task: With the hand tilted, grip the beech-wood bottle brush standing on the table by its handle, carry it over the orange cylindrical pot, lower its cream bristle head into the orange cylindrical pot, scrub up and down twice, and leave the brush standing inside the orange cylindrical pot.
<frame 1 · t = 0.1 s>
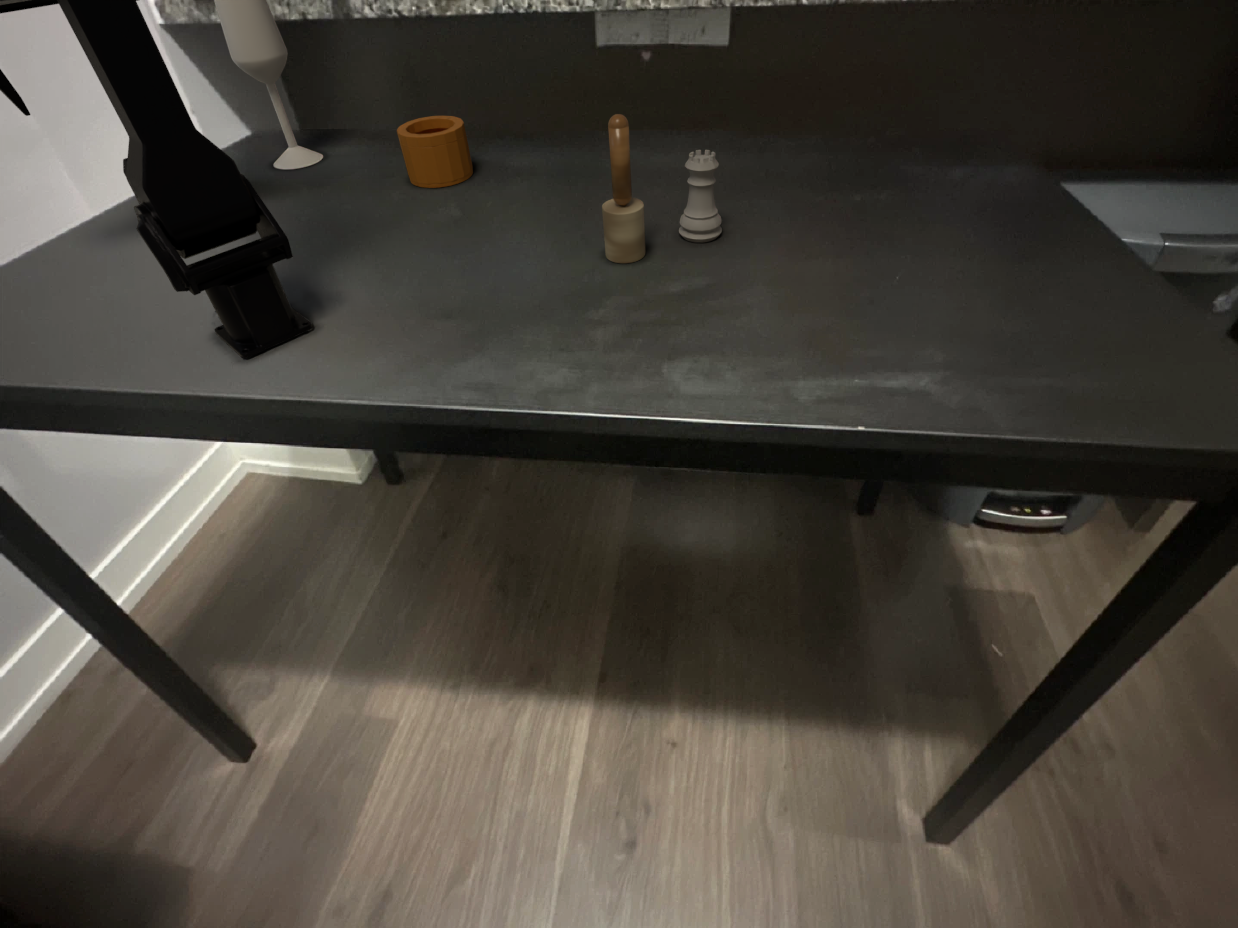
hand: (80, 102, 67), 15 cm above the table, tool pointing down, fingers open, 9 cm apart
rook chess piece: (700, 236, 71), on the table
orange cylindrical pot: (441, 175, 87), on the table
brush: (625, 254, 68), on the table
sauce bottle: (192, 198, 87), on the table
champagne flute: (298, 161, 95), on the table
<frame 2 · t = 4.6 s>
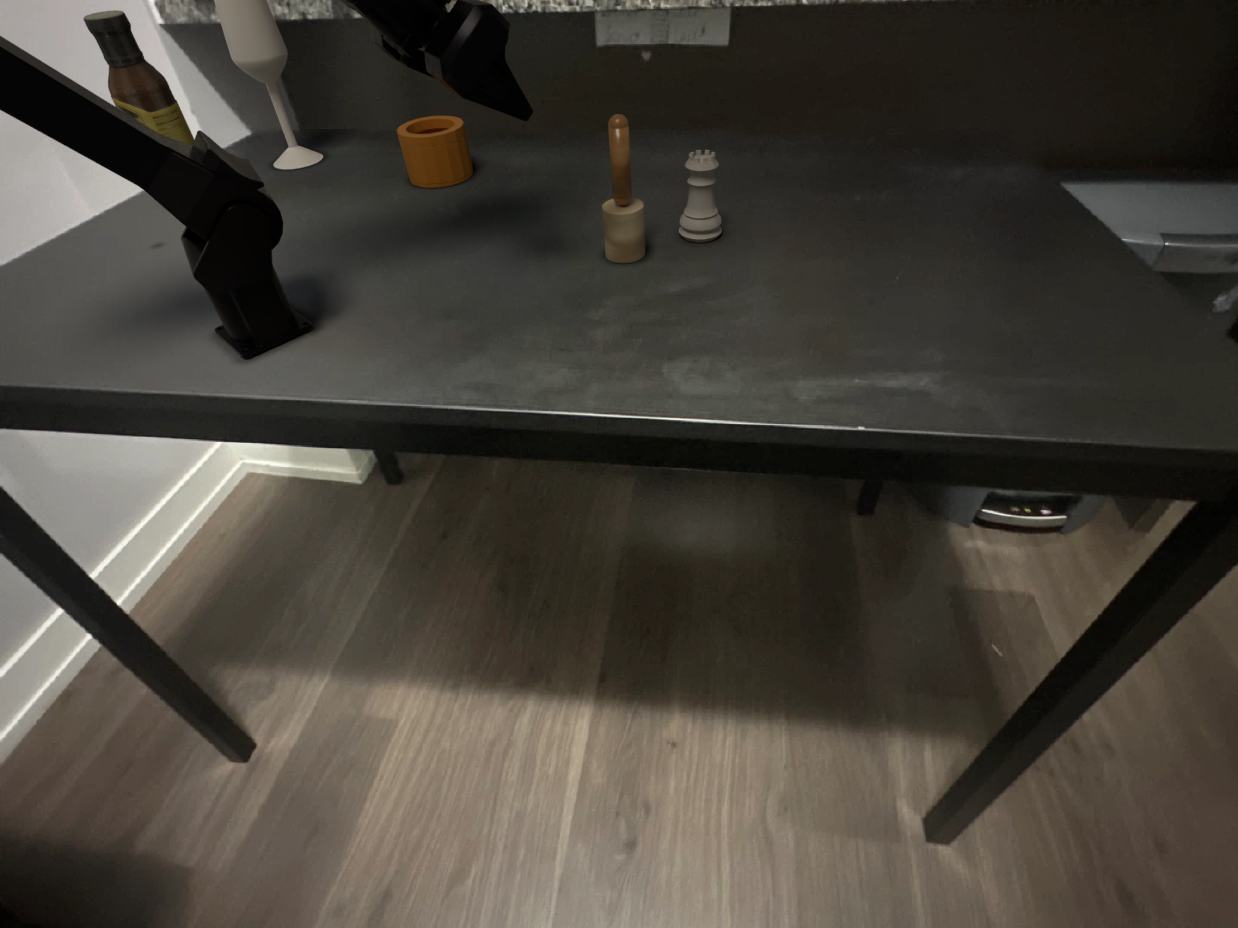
hand: (507, 104, 61), 14 cm above the table, tool tilted 40°, fingers open, 9 cm apart
nothing on the table moved.
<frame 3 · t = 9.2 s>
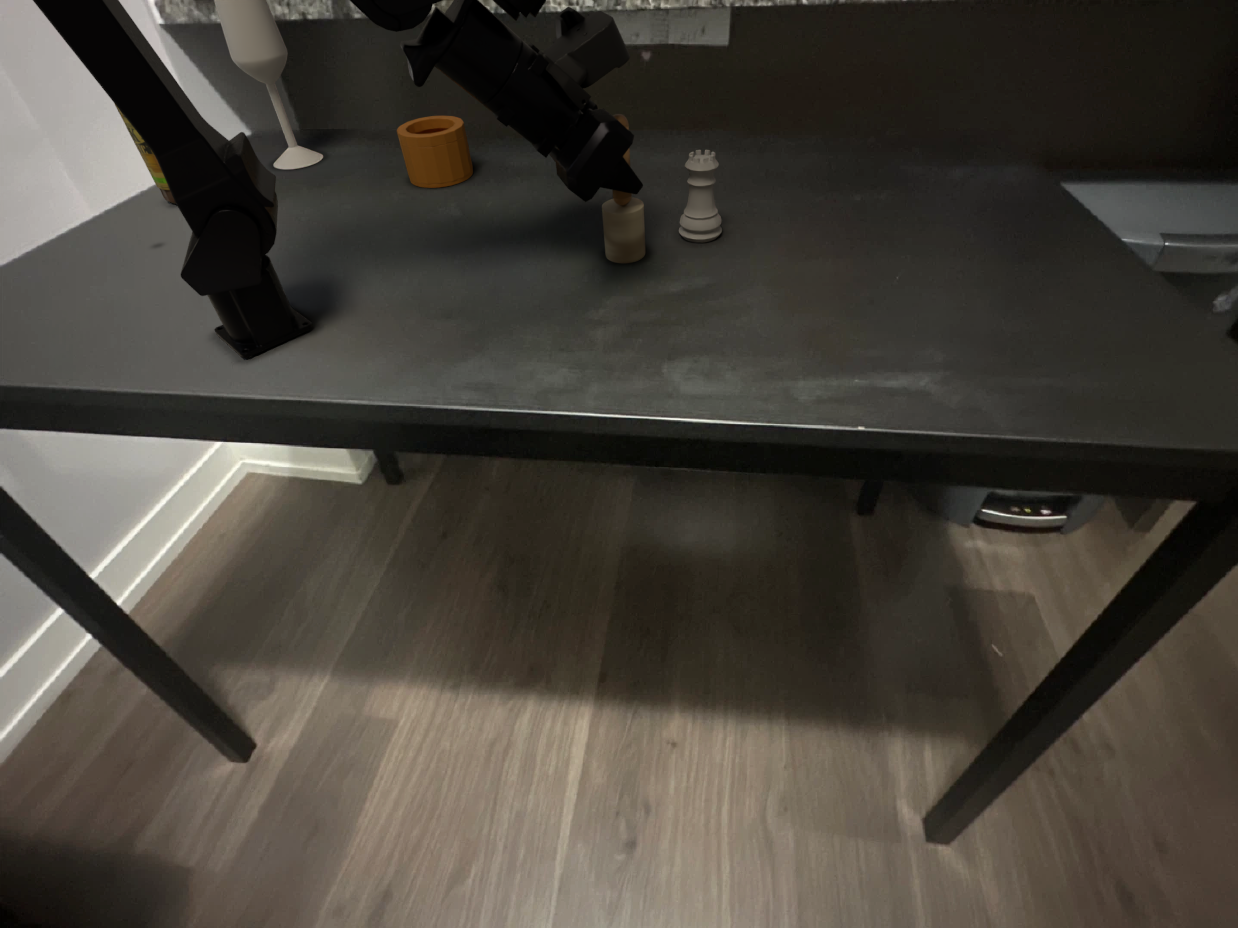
hand: (635, 185, 64), 7 cm above the table, tool tilted 45°, fingers closed on brush, 2 cm apart
brush: (625, 254, 68), on the table, touching gripper
everything else where it was.
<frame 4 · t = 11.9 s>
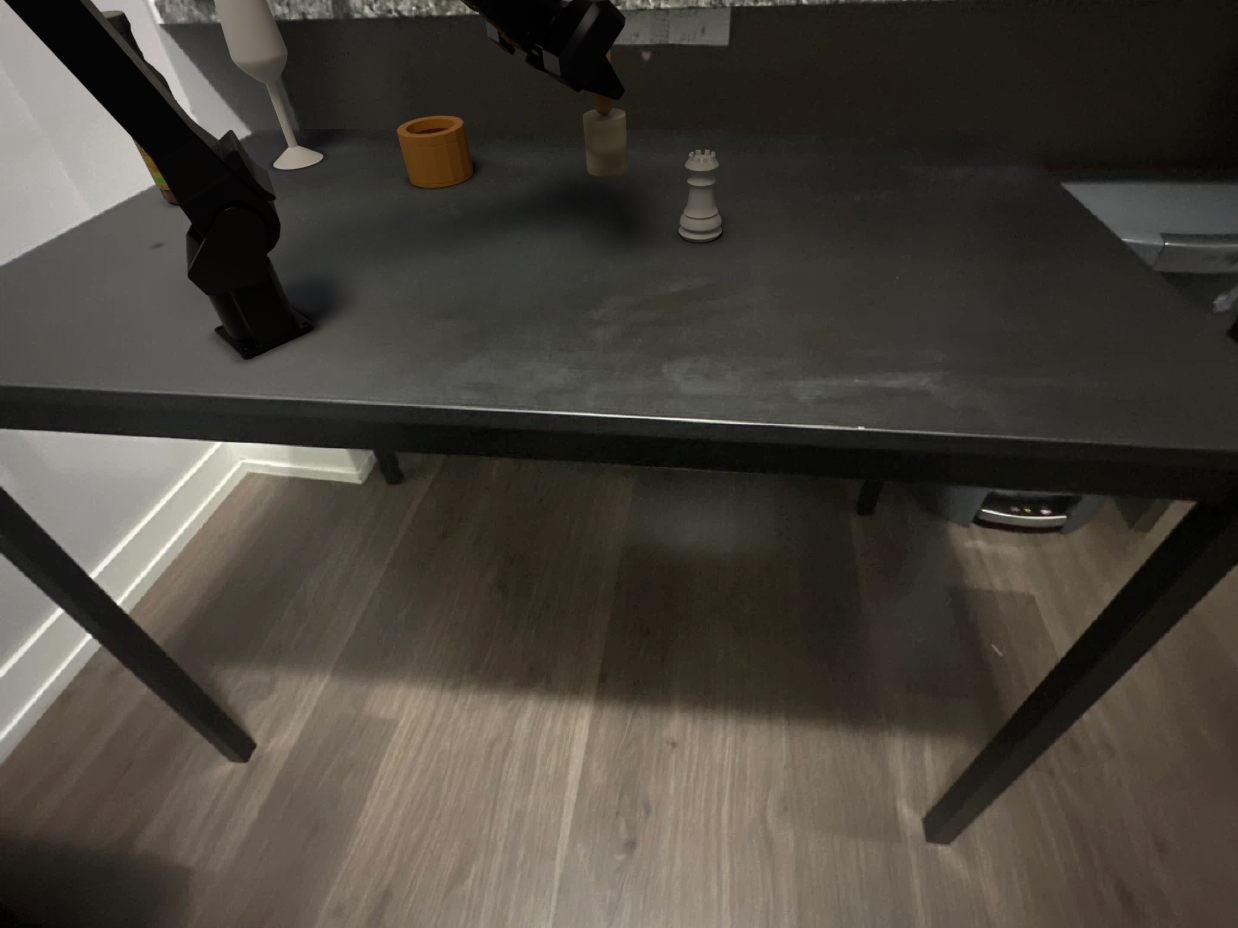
hand: (616, 92, 63), 14 cm above the table, tool tilted 45°, fingers closed on brush
brush: (607, 169, 67), point 7 cm above the table, touching gripper
everything else where it was.
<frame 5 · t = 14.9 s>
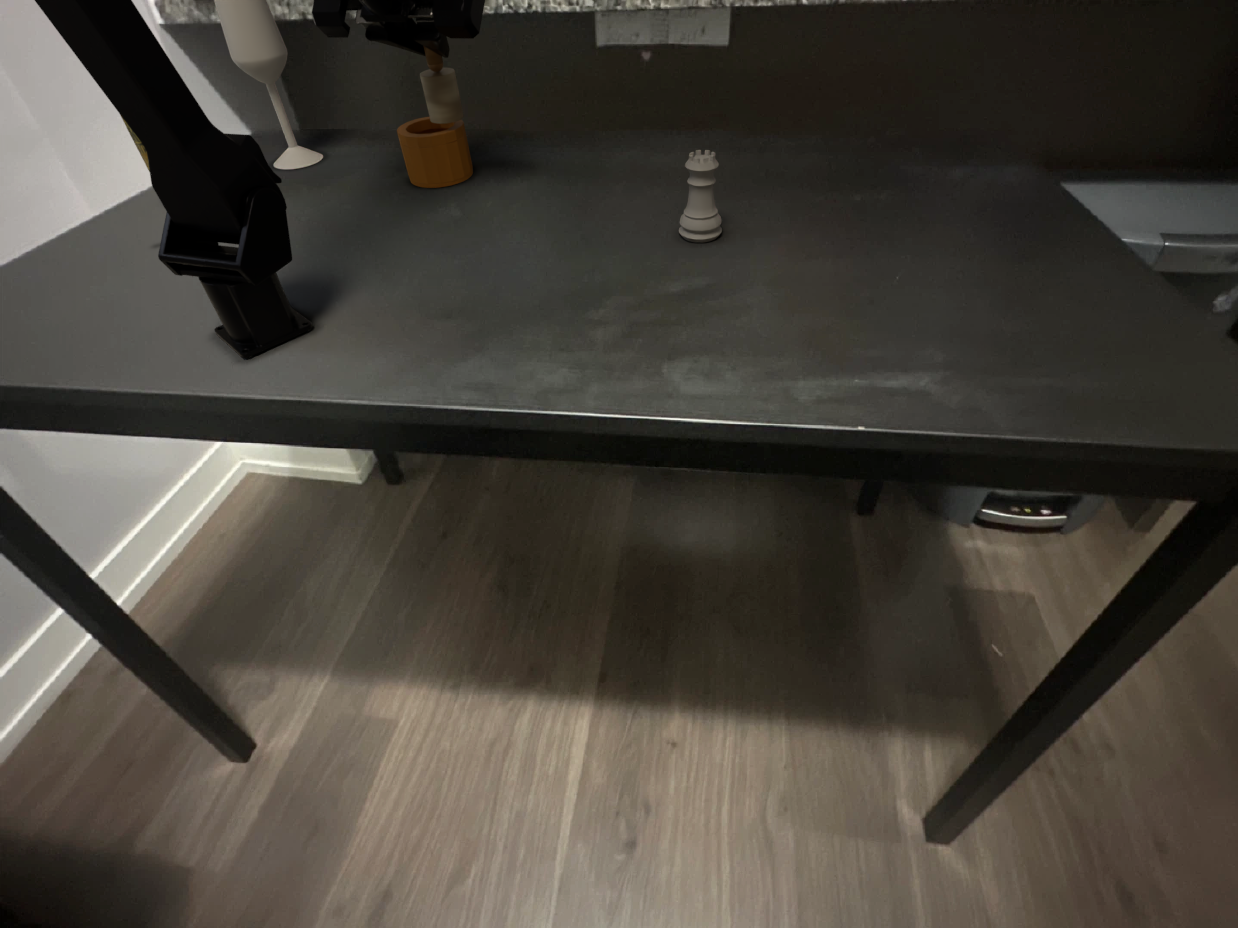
hand: (439, 53, 78), 14 cm above the table, tool tilted 45°, fingers closed on brush
brush: (447, 118, 82), point 7 cm above the table, touching gripper
everything else where it was.
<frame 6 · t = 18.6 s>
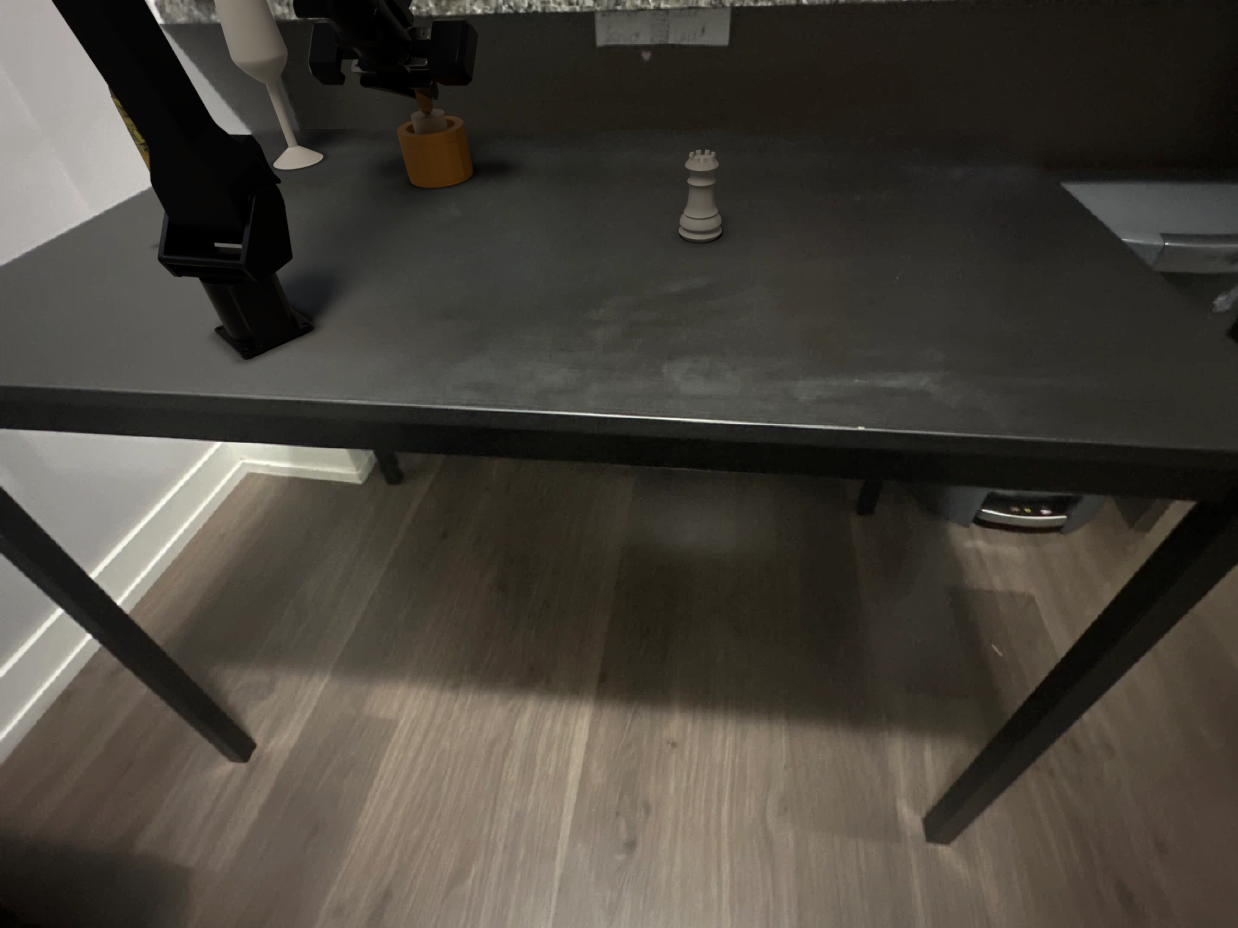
hand: (429, 95, 82), 9 cm above the table, tool tilted 45°, fingers closed on brush, 2 cm apart
brush: (437, 156, 86), point 2 cm above the table, touching gripper
everything else where it was.
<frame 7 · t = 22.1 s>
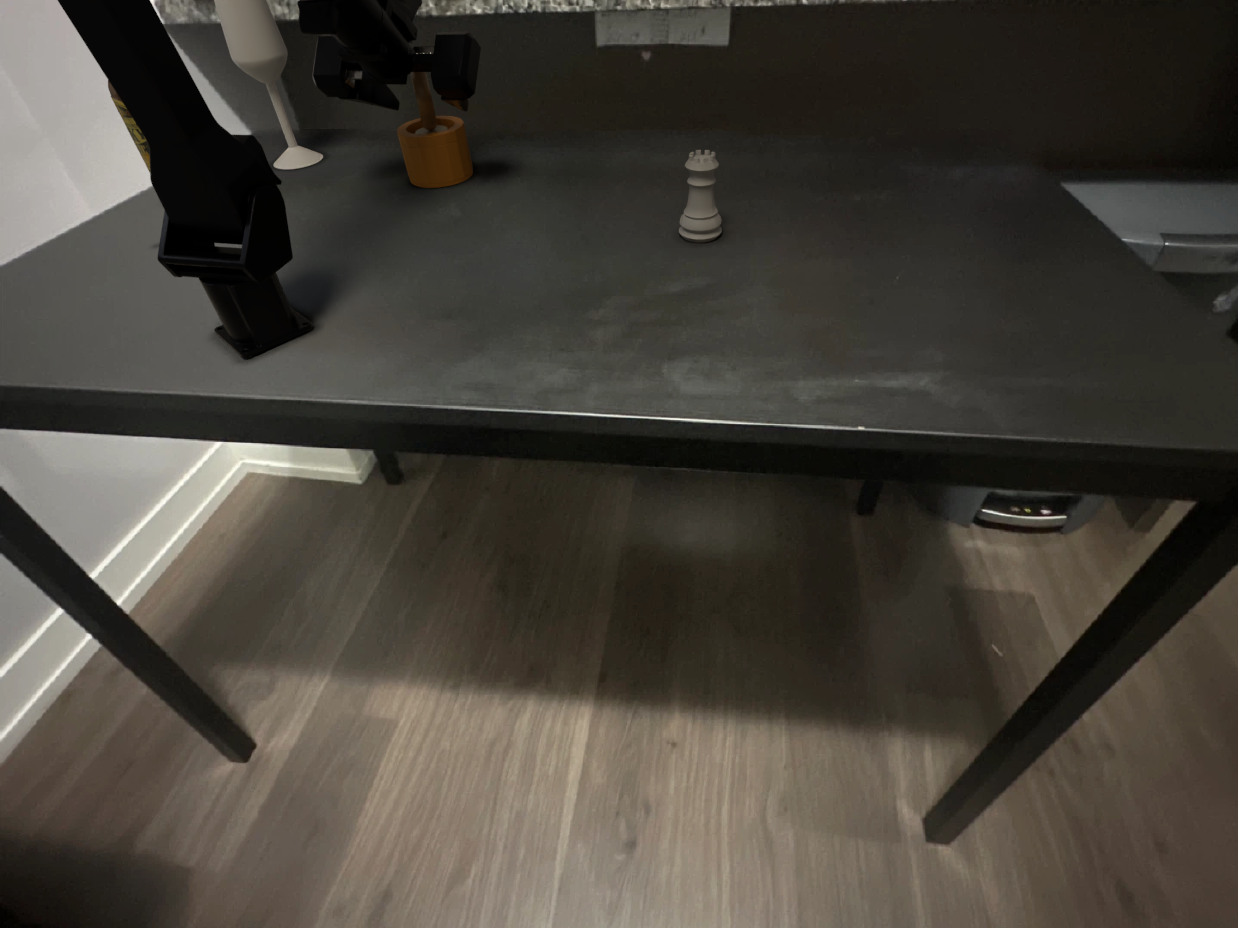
hand: (431, 106, 83), 8 cm above the table, tool tilted 45°, fingers open, 9 cm apart
orange cylindrical pot: (441, 175, 87), on the table, touching brush
brush: (441, 171, 87), resting on orange cylindrical pot
everything else where it was.
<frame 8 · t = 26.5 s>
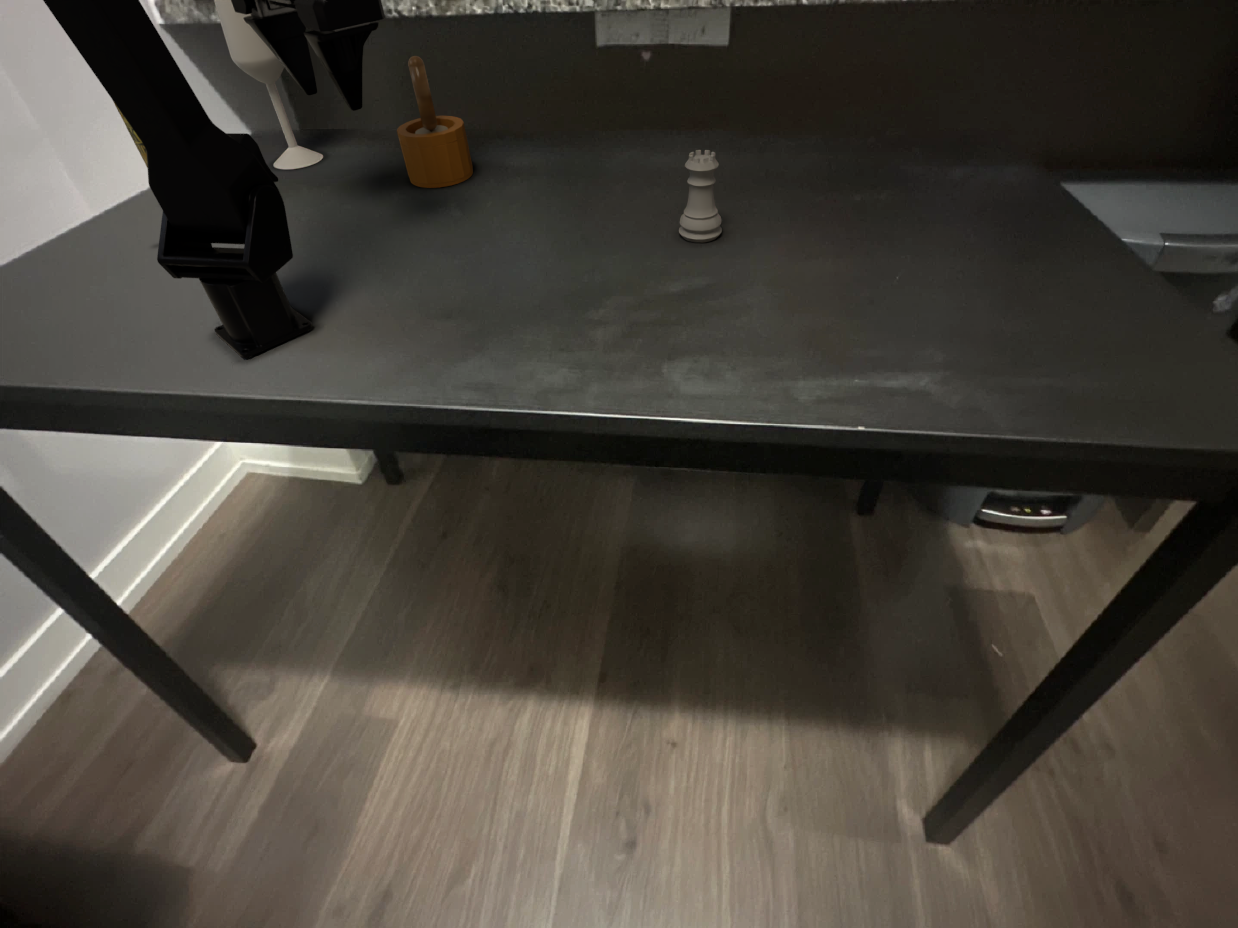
hand: (333, 101, 68), 13 cm above the table, tool pointing down, fingers open, 9 cm apart
nothing on the table moved.
at the end: brush 0.0 cm off-centre in the orange cylindrical pot, point 0.5 cm above the orange cylindrical pot's base; orange cylindrical pot tilted 0°; the gripper is holding nothing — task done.
